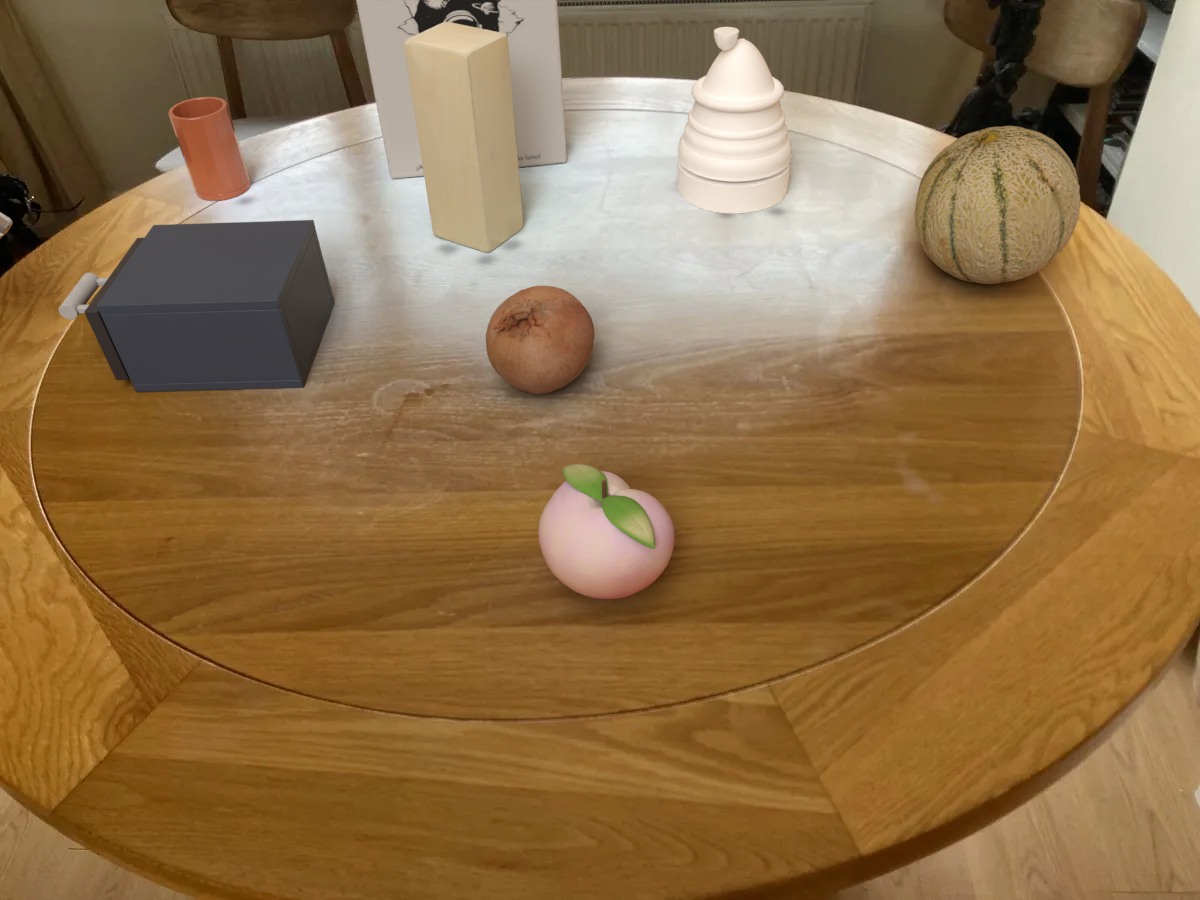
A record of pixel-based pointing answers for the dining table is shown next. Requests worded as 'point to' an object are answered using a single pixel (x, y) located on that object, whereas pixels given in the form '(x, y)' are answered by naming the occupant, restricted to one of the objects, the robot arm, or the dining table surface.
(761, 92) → the honey pot
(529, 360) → the onion
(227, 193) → the cup
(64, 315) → the drawer
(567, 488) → the decorative fruit
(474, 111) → the tall wooden block
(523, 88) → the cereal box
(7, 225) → the robot arm
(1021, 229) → the cantaloupe
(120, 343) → the cabinet
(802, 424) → the dining table surface
